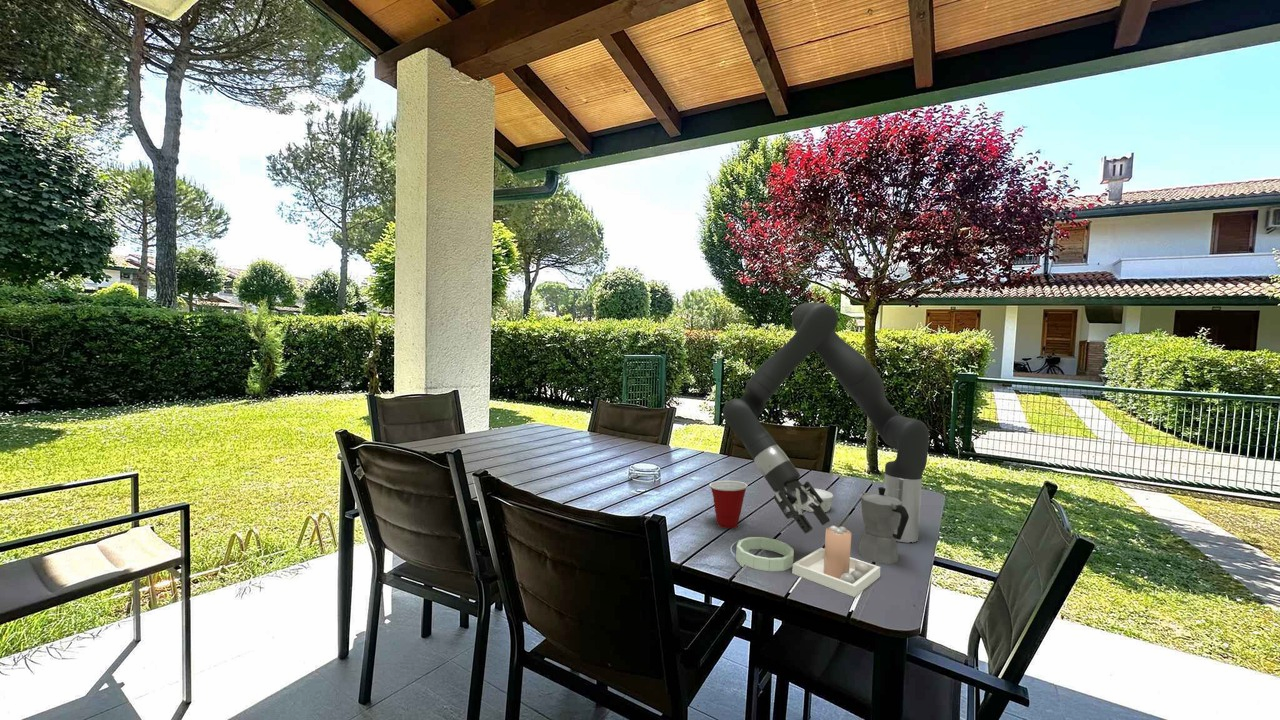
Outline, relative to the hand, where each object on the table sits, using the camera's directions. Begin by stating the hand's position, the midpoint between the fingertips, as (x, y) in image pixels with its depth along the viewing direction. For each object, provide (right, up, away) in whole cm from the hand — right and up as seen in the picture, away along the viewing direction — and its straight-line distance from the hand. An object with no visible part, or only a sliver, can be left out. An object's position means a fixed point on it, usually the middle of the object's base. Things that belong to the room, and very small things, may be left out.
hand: (818, 527), depth 120 cm
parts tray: (+3, -11, -3) cm, 11 cm away
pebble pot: (+3, -10, -3) cm, 11 cm away
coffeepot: (+18, -11, +8) cm, 22 cm away
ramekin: (+14, -9, +46) cm, 49 cm away
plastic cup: (-16, -9, +28) cm, 34 cm away
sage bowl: (-11, -10, +4) cm, 16 cm away
